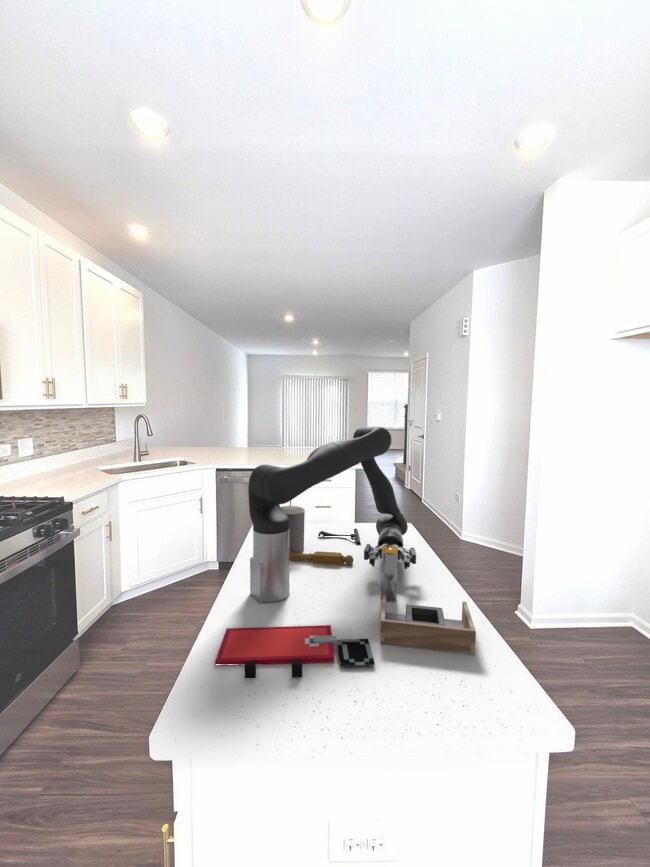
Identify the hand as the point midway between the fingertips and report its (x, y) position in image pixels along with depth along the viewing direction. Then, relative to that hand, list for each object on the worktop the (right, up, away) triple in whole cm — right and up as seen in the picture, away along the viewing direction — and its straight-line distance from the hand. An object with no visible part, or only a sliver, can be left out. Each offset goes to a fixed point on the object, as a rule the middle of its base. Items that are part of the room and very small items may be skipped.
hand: (389, 564), depth 105 cm
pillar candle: (-29, -5, +28) cm, 40 cm away
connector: (-1, -7, -4) cm, 8 cm away
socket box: (+5, -9, -18) cm, 20 cm away
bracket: (-12, -4, +41) cm, 43 cm away
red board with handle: (-23, -10, -26) cm, 36 cm away
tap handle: (-23, -6, +19) cm, 30 cm away
